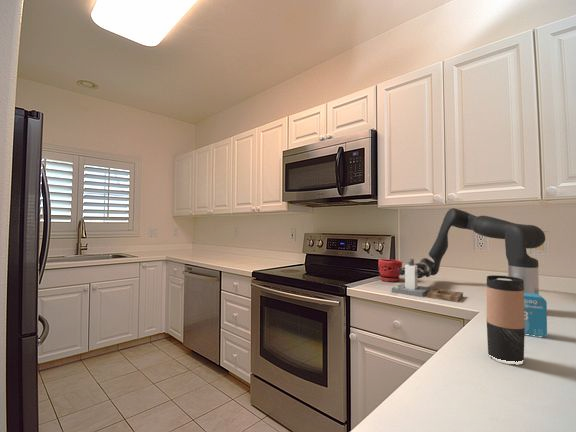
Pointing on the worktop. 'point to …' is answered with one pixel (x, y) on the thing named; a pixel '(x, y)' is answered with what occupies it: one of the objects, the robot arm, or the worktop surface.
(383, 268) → the plant pot
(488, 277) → the travel mug
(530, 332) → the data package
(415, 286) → the plug
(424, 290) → the port plate
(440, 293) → the brown square frame
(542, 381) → the worktop surface
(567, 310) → the worktop surface
